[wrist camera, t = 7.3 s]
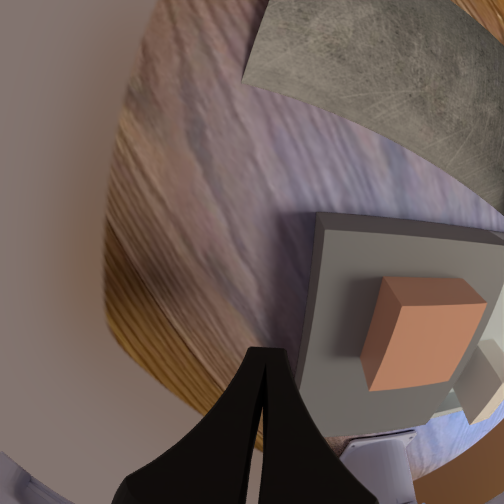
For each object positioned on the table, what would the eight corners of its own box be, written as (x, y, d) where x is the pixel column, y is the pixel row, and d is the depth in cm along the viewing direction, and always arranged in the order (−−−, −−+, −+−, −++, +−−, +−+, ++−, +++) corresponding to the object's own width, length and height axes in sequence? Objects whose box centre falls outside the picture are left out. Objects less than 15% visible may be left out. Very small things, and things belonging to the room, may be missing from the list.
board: (417, 399, 19) (425, 424, 16) (289, 407, 20) (288, 437, 17) (487, 230, 13) (514, 247, 10) (316, 211, 14) (324, 229, 11)
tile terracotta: (433, 352, 13) (448, 380, 11) (359, 357, 13) (368, 391, 11) (462, 278, 11) (487, 303, 9) (382, 276, 11) (401, 306, 9)
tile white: (451, 384, 17) (469, 380, 17) (469, 425, 13) (488, 418, 12) (475, 341, 15) (493, 338, 15) (502, 383, 11) (519, 376, 10)
